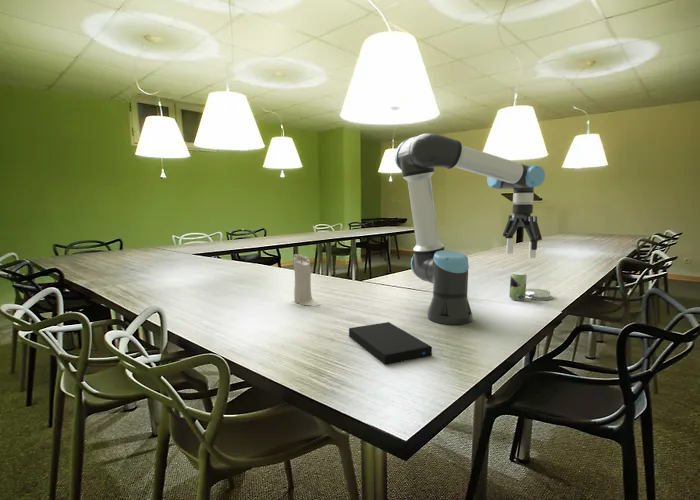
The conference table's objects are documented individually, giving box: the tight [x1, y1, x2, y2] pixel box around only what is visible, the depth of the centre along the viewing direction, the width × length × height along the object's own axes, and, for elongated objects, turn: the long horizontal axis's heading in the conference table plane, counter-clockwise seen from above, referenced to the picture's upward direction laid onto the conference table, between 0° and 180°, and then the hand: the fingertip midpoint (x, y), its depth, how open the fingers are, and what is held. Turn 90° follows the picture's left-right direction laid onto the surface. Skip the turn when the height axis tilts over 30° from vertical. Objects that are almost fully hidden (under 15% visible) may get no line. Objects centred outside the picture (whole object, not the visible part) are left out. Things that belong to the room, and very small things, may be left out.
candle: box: [293, 253, 321, 307], centre depth 157 cm, size 7×14×20 cm, turn 41°
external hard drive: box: [348, 321, 433, 366], centre depth 110 cm, size 14×23×3 cm, turn 24°
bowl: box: [525, 288, 553, 302], centre depth 163 cm, size 12×12×2 cm
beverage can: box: [508, 270, 527, 302], centre depth 159 cm, size 6×7×12 cm
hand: (520, 255), depth 157 cm, fingers open, 13 cm apart
